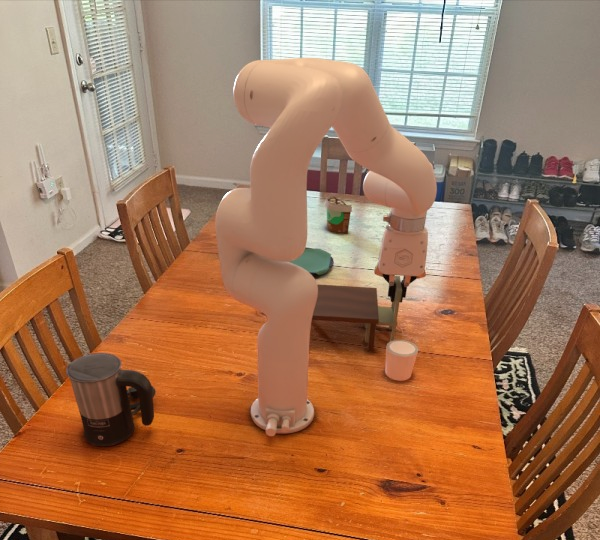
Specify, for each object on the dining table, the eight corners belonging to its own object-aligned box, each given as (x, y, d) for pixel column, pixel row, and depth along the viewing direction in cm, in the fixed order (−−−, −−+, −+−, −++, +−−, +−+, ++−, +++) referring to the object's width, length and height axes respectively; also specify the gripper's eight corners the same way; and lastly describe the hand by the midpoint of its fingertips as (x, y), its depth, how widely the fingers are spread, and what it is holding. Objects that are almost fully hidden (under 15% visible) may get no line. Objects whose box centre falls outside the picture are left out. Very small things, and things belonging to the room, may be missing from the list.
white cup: (377, 377, 124) (381, 350, 120) (389, 362, 129) (392, 336, 125) (407, 386, 122) (412, 359, 117) (417, 371, 126) (422, 344, 122)
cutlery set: (331, 282, 161) (331, 275, 160) (227, 274, 164) (227, 267, 162) (335, 255, 177) (336, 248, 176) (241, 248, 179) (241, 241, 178)
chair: (394, 344, 135) (402, 291, 126) (364, 342, 135) (370, 289, 127) (392, 328, 141) (399, 275, 133) (364, 326, 141) (370, 274, 133)
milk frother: (82, 451, 103) (64, 384, 94) (83, 400, 114) (67, 337, 106) (162, 438, 106) (152, 373, 97) (155, 390, 118) (145, 328, 109)
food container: (317, 225, 198) (318, 196, 192) (333, 223, 200) (334, 194, 194) (333, 237, 189) (335, 207, 183) (349, 235, 191) (352, 205, 185)
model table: (374, 353, 132) (378, 319, 126) (297, 348, 133) (298, 314, 127) (372, 320, 145) (376, 287, 139) (302, 315, 145) (303, 283, 140)
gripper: (371, 226, 118) (362, 305, 129) (446, 230, 118) (431, 309, 129) (370, 214, 124) (362, 290, 135) (441, 217, 124) (427, 294, 135)
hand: (396, 299), depth 132 cm, fingers closed
